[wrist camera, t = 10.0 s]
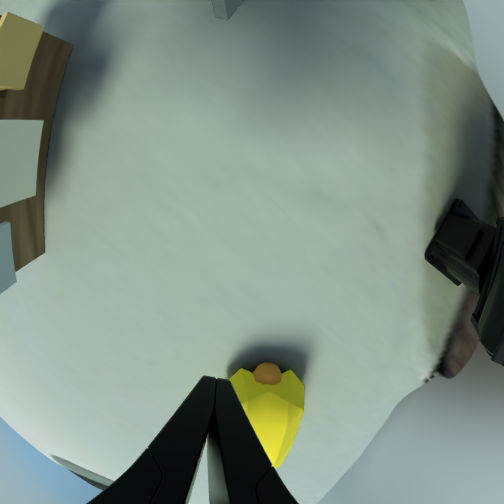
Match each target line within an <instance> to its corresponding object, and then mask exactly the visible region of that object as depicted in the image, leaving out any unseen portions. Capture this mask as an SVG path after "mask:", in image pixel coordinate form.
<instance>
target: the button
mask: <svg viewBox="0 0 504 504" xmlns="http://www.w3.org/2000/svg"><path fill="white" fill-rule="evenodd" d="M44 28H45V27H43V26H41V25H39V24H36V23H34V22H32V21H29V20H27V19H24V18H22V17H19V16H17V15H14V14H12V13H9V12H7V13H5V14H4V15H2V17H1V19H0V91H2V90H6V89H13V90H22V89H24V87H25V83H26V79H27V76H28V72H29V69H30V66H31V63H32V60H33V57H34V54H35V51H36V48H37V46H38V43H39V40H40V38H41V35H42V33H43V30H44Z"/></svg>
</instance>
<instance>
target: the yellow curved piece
mask: <svg viewBox="0 0 504 504" xmlns="http://www.w3.org/2000/svg"><path fill="white" fill-rule="evenodd" d="M228 380H230V381H231V383H232V385H233V388H234V390H235V392H236V394H237V396H238V398H239V400H240V402H241V405H242V407H243V409H244V411H245V413H246V415H247V417H248V419H249V421H250V423H251V425H252V427H253V429H254V431H255V433H256V435H257V437H258V438H259V440H260V442H261V444H262V446H263V448H264V450H265V452H266V454H267V455H268V457H269V459H270V461H271V463H272V466H273V467H274V468H275V469H276V468H278V467H279V466H280V465H281V464H282V463H283V461H284V459H285V457H286V456H287V454H288V452H289V450H290V448H291V446H292V444H293V441H294V438H295V435H296V433H297V430H298V427H299V424H300V421H301V418H302V415H303V412H304V390H305V386H304V384H303V383H302V382H301V381H300V380H299V379H298V377H297V376H296V375H295V374H294V373H293V371H292V370H288V371H286V372H284V373H282V374H281V371H280V369H279V367H278V366H277V365H275V364H273V363H262V364H260V365H258V366H257V368H256V369H255V370H254V372H253V373H251V372H249V371H247V370H245V369H243V368H241V369H240V370H238V371H237V372H236V373H235V374H234V375H233V376H232V377H231V378H229V379H228ZM272 466H271V467H272Z"/></svg>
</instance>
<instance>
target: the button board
mask: <svg viewBox="0 0 504 504" xmlns="http://www.w3.org/2000/svg"><path fill="white" fill-rule="evenodd" d="M1 17H2V16H1V15H0V19H1ZM72 48H73V45H72V44H70V43H67V42H65V41H63V40H61V39H59V38H57V37H54V36H52V35H50V34H48V33H45V32H43V33H42V35H41V38H40V40H39V43H38V46H37V48H36V51H35V54H34V57H33V60H32V63H31V66H30V69H29V72H28V76H27V79H26V83H25V87H24V89H22V90H13V89H6V90H2V91H0V120H44V122H43V128H42V134H41V141H40V148H39V156H38V166H37V179H36V196H32V197H29V198H26V199H23V200H20V201H18V202H15V203H12V204H9V205H6V206H4V207H1V208H0V223H3V222H5V221H7V222H10V226H11V241H12V251H13V260H14V268H15V272H16V271H18V270H19V269H21V268H22V267H24V266H25V265H27V264H28V263H30V262H31V261H33V260H34V259H36V258H37V257H39V256H40V255H42V254H44V253H45V245H44V189H45V174H46V163H47V154H48V146H49V139H50V133H51V127H52V121H53V116H54V111H55V107H56V102H57V98H58V94H59V90H60V86H61V82H62V79H63V75H64V72H65V69H66V65H67V62H68V59H69V56H70V53H71V50H72Z"/></svg>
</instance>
